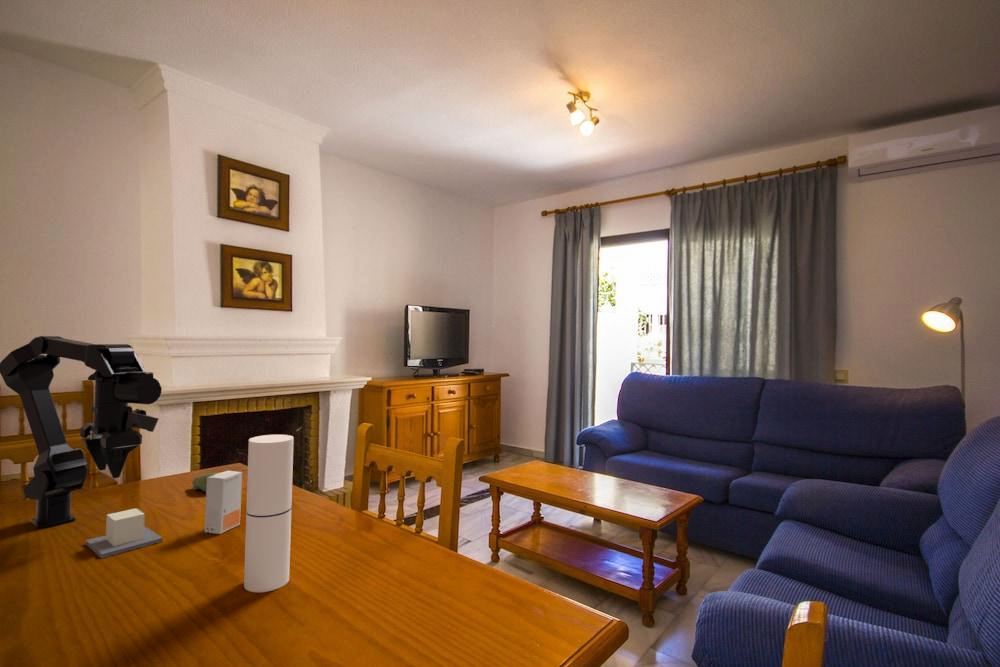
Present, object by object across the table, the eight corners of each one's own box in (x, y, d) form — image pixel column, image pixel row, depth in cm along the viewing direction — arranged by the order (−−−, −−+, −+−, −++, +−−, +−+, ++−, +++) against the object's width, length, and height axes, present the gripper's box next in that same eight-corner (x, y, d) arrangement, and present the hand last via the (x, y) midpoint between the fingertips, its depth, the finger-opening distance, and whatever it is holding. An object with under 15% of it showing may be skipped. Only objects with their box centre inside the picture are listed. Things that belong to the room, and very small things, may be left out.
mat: (85, 544, 99) (86, 540, 99) (144, 529, 107) (144, 525, 107) (101, 558, 93) (101, 554, 93) (162, 541, 101) (162, 537, 101)
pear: (207, 475, 130) (185, 475, 134) (209, 495, 129) (186, 495, 134) (227, 470, 135) (205, 470, 139) (229, 489, 134) (207, 489, 139)
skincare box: (220, 534, 105) (222, 478, 105) (203, 532, 106) (205, 477, 106) (241, 524, 111) (243, 471, 111) (224, 522, 112) (226, 470, 112)
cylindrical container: (244, 596, 81) (248, 444, 81) (244, 576, 87) (248, 436, 88) (290, 586, 84) (295, 441, 85) (287, 569, 91) (291, 433, 91)
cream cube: (105, 539, 99) (106, 514, 99) (135, 532, 103) (136, 508, 103) (113, 546, 96) (114, 520, 96) (143, 538, 100) (144, 513, 100)
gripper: (170, 402, 108) (168, 474, 107) (139, 395, 119) (137, 459, 119) (108, 407, 99) (105, 485, 98) (80, 398, 110) (78, 468, 110)
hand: (108, 473), depth 106 cm, fingers open, 9 cm apart
